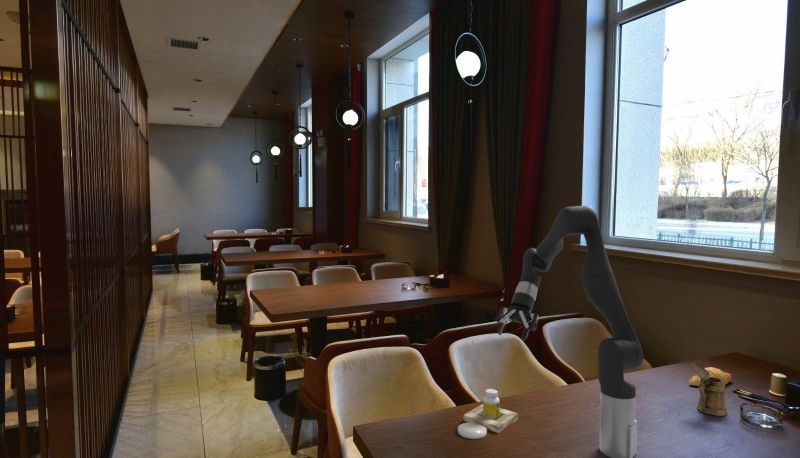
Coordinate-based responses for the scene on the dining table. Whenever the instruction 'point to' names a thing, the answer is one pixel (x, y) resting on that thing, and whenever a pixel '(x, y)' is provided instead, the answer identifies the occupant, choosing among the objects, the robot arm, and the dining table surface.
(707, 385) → the wooden mug
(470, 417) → the square wooden frame
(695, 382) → the croissant
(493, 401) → the supplement bottle
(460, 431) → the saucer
